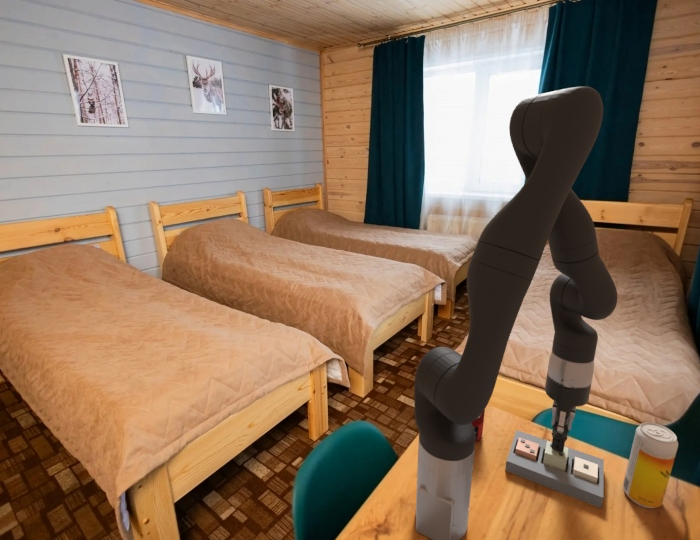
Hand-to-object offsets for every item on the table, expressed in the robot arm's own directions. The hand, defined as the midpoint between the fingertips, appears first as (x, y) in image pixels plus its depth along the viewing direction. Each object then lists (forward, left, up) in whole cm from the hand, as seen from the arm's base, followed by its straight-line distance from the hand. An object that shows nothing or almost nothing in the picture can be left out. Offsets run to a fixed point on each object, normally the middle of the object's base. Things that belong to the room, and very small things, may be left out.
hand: (557, 448), depth 78 cm
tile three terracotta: (0, +6, -5) cm, 7 cm away
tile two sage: (0, 0, -3) cm, 3 cm away
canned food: (+1, +19, -6) cm, 20 cm away
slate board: (0, 0, -5) cm, 5 cm away
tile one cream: (0, -5, -5) cm, 7 cm away
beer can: (+1, -15, -6) cm, 16 cm away
